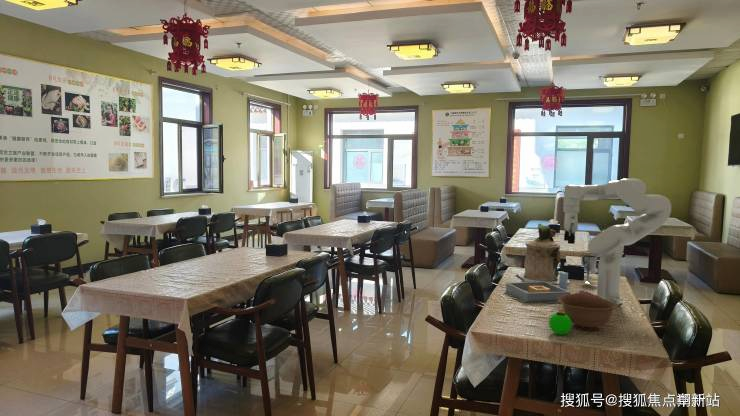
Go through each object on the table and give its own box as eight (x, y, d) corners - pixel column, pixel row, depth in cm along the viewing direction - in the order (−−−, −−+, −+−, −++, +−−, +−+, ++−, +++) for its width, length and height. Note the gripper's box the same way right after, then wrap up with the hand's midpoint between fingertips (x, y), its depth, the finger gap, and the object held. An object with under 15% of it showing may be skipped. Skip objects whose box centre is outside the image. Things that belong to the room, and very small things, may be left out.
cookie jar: (525, 283, 274) (527, 226, 271) (514, 274, 298) (516, 221, 296) (571, 284, 273) (573, 226, 270) (556, 275, 297) (558, 222, 295)
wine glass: (580, 283, 276) (582, 256, 275) (579, 280, 284) (580, 254, 283) (596, 284, 274) (597, 257, 273) (594, 281, 282) (595, 255, 280)
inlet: (550, 294, 246) (550, 289, 246) (536, 294, 245) (536, 289, 245) (542, 290, 254) (542, 285, 254) (528, 290, 253) (528, 286, 252)
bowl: (604, 320, 207) (605, 294, 206) (626, 338, 185) (628, 309, 184) (550, 318, 209) (551, 292, 208) (565, 335, 187) (566, 306, 186)
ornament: (565, 331, 193) (567, 305, 192) (575, 338, 184) (576, 311, 184) (545, 330, 192) (546, 305, 191) (553, 337, 184) (554, 311, 183)
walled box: (569, 301, 237) (570, 291, 237) (527, 302, 233) (527, 293, 233) (545, 290, 259) (545, 281, 259) (505, 291, 255) (506, 282, 255)
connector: (568, 293, 254) (569, 273, 253) (561, 293, 253) (562, 273, 252) (564, 291, 258) (565, 272, 257) (557, 291, 257) (558, 272, 256)
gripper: (582, 210, 245) (580, 245, 247) (575, 207, 262) (573, 240, 264) (566, 210, 247) (564, 244, 248) (560, 207, 263) (558, 239, 265)
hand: (569, 242), depth 256 cm, fingers open, 9 cm apart
